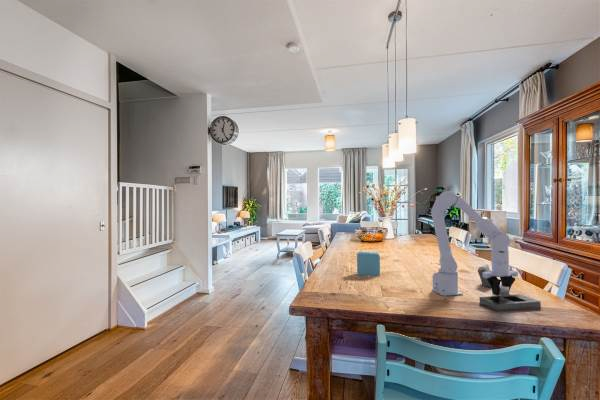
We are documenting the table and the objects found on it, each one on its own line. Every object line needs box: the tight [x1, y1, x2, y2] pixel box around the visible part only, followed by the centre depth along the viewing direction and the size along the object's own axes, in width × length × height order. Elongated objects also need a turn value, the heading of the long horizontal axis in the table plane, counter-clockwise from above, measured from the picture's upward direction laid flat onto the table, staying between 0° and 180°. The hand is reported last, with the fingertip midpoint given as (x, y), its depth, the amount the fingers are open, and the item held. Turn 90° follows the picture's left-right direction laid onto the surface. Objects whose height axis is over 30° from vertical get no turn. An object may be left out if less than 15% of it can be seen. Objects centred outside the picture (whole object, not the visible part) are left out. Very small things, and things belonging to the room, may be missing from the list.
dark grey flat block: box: [479, 294, 542, 312], centre depth 105 cm, size 18×8×3 cm, turn 98°
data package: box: [356, 251, 381, 277], centre depth 152 cm, size 12×4×12 cm, turn 77°
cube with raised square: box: [491, 283, 510, 296], centre depth 113 cm, size 4×4×5 cm
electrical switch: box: [477, 263, 491, 288], centre depth 131 cm, size 9×5×9 cm, turn 141°
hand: (500, 294), depth 113 cm, fingers closed on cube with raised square, 4 cm apart
